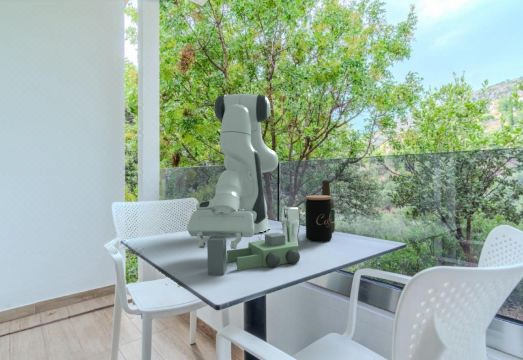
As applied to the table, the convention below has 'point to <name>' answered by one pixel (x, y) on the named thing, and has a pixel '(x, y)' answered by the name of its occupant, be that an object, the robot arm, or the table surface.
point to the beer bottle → (327, 192)
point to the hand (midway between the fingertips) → (217, 247)
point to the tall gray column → (217, 255)
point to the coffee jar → (318, 218)
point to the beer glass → (291, 224)
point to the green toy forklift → (265, 253)
